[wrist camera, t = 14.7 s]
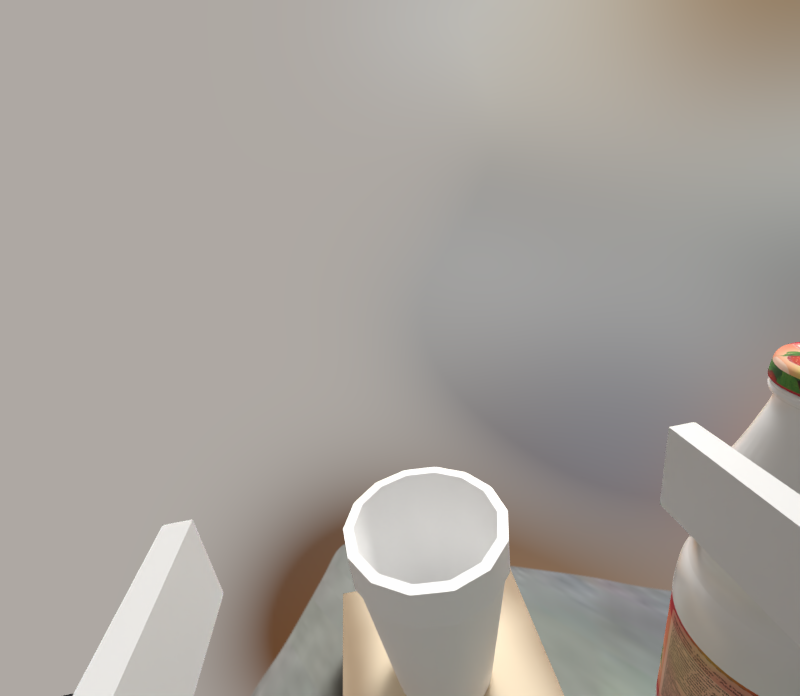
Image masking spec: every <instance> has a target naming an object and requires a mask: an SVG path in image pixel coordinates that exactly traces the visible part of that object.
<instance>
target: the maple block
mask: <svg viewBox="0 0 800 696" xmlns="http://www.w3.org/2000/svg"><path fill="white" fill-rule="evenodd" d="M343 696H406V694H405V693H404V692H403V689H402V687H401V685H400V683H399V681H398V678H397V676H396V674H395V671H394V669H393V667H392V664H391V662H390V660H389V658H388V655H387V653H386V651H385V648H384V646H383V644H382V641H381V639H380V637H379V634H378V632H377V630H376V627H375V625H374V623H373V620H372V618H371V616H370V613H369V611H368V609H367V606H366V604H365V602H364V599H363V598H362V597H361V595H360V594H359V593H358V592H357V591H355V592H350V593H345V594H343ZM484 696H564V694H563V692H562V690H561V687H560V685H559V682H558V680H557V678H556V675H555V673H554V671H553V668H552V666H551V664H550V661H549V659H548V657H547V654H546V652H545V650H544V647H543V645H542V643H541V640H540V638H539V635H538V633H537V631H536V628H535V626H534V624H533V621H532V619H531V617H530V614H529V612H528V610H527V607H526V605H525V603H524V600H523V598H522V596H521V593H520V591H519V589H518V586H517V584H516V581H515V579H514V577H513V574H512V572H511V570H510V573H509V575H508V577H507V579H506V580H505V585H504V592H503V599H502V606H501V613H500V620H499V627H498V634H497V641H496V648H495V655H494V662H493V669H492V676H491V679H490V685H489V687H488V689H487V691H486V693H485V695H484Z"/></svg>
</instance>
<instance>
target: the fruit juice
mask: <svg viewBox="0 0 800 696" xmlns="http://www.w3.org/2000/svg"><path fill="white" fill-rule="evenodd" d="M768 376H769V378H768V386H769V389H770V390H771V392H772V396H771V398H770V400H769V401H768V403H767V404H766V405H765V407H764V408H763V409H762V410H761V412H760V413H759V415H758V416H757V417H756V418H755V420H754V421H753V422H752V424H751V425H750V426H749V427H748V429H747V430H746V431H745V432H744V434H743V435H742V436H741V437H740V438H739V440H738V441H737V442H736V443H735V444H734V445H733V446H732V448H733V449H735V450H736V451H737V452H739V453H740V454H742V455H743V456H745V457H746V458H748V459H749V460H751V461H752V462H753V463H755V464H756V465H758V466H759V467H761V468H762V469H764V470H765V471H766V472H768V473H769V474H771V475H772V476H774V477H775V478H777V479H778V480H779V481H781V482H782V483H784V484H785V485H787V486H788V487H790V488H791V489H792V490H794V491H795V492H797V493H798V494H800V342H796V343H791V344H787V345H785V346H782V347H781V348H779V349H778V350H777V351H776V352H775V354H774V356H773V358H772V361H771V363H770V366H769V369H768ZM655 696H800V647H799V646H798V645H797V644H796V643H795V642H794V641H793V640H792V639H791V638H790V637H789V636H788V635H787V634H786V633H785V632H784V631H783V630H782V629H781V628H780V627H779V626H778V625H777V624H776V623H775V622H774V621H773V620H772V619H771V618H770V617H769V616H768V615H767V614H766V613H765V611H764V610H763V609H762V608H761V607H760V606H759V605H758V604H757V603H756V602H755V601H754V600H753V599H752V598H751V597H750V596H749V595H748V594H747V593H746V592H745V591H744V590H743V589H742V588H741V587H740V586H739V585H738V584H737V583H736V582H735V581H734V580H733V579H732V578H731V577H730V576H729V575H728V573H727V572H726V571H725V570H724V569H723V568H722V567H721V566H720V565H719V564H718V563H717V562H716V561H715V560H714V559H713V558H712V557H711V556H710V555H709V554H708V553H707V552H706V551H705V550H704V549H703V548H702V547H701V546H700V545H699V544H698V543H697V542H696V541H695V540H694V539H693V538H692V536H691V535H690V536H689V538H688V539H687V540H686V542H685V543H684V546H683V548H682V550H681V553H680V555H679V558H678V562H677V565H676V569H675V573H674V578H673V586H672V593H671V600H670V606H669V612H668V618H667V624H666V630H665V636H664V642H663V648H662V654H661V661H660V667H659V673H658V679H657V685H656V691H655Z"/></svg>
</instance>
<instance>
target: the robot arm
mask: <svg viewBox="0 0 800 696" xmlns="http://www.w3.org/2000/svg"><path fill="white" fill-rule="evenodd" d="M660 505H661V506H662V507H663V508H664V509H665V510H666V511H667V512H668V513H669V514H670V515H671V516H672V517H673V518H674V519H675V520H676V521H677V522H678V523H679V524H680V525H681V526H682V527H683V528H684V529H685V530H686V531H687V532H688V533H689V534H690V535H691V536H692V538H693V539H694V540H695V541H696V542H697V543H698V544H699V545H700V546H701V547H702V548H703V549H704V550H705V551H706V552H707V553H708V554H709V555H710V556H711V557H712V558H713V559H714V560H715V561H716V562H717V563H718V564H719V565H720V566H721V567H722V568H723V569H724V570H725V571H726V572H727V573H728V575H729V576H730V577H731V578H732V579H733V580H734V581H735V582H736V583H737V584H738V585H739V586H740V587H741V588H742V589H743V590H744V591H745V592H746V593H747V594H748V595H749V596H750V597H751V598H752V599H753V600H754V601H755V602H756V603H757V604H758V605H759V606H760V607H761V608H762V609H763V610H764V611H765V613H766V614H767V615H768V616H769V617H770V618H771V619H772V620H773V621H774V622H775V623H776V624H777V625H778V626H779V627H780V628H781V629H782V630H783V631H784V632H785V633H786V634H787V635H788V636H789V637H790V638H791V639H792V640H793V641H794V642H795V643H796V644H797V645H798V646H799V647H800V494H798V493H797V492H795V491H794V490H792V489H791V488H790V487H788V486H787V485H785V484H784V483H782V482H781V481H779V480H778V479H777V478H775V477H774V476H772V475H771V474H769V473H768V472H766V471H765V470H764V469H762V468H761V467H759V466H758V465H756V464H755V463H753V462H752V461H751V460H749V459H748V458H746V457H745V456H743V455H742V454H740V453H739V452H737V451H736V450H735V449H733V448H732V447H730V446H729V445H727V444H726V443H724V442H723V441H722V440H720V439H718V438H717V437H716V436H714V435H713V434H711V433H710V432H708V431H707V430H706V429H704V428H703V427H701V426H700V425H698V424H697V423H695V422H692V423H687V424H682V425H677V426H672V427H669V430H668V439H667V447H666V456H665V465H664V473H663V482H662V490H661V499H660ZM222 597H223V591H222V588H221V586H220V584H219V581H218V579H217V576H216V574H215V572H214V569H213V567H212V564H211V562H210V560H209V557H208V555H207V553H206V550H205V548H204V545H203V543H202V541H201V538H200V536H199V534H198V531H197V529H196V526H195V524H194V522H193V520H187V521H182V522H177V523H172V524H166V525H163V526H162V528H161V529H160V531H159V533H158V535H157V537H156V539H155V541H154V543H153V545H152V546H151V548H150V550H149V552H148V554H147V556H146V558H145V560H144V562H143V564H142V565H141V567H140V569H139V571H138V573H137V575H136V577H135V579H134V581H133V582H132V584H131V586H130V588H129V590H128V592H127V594H126V596H125V598H124V599H123V601H122V603H121V605H120V607H119V609H118V611H117V613H116V615H115V616H114V618H113V620H112V622H111V624H110V626H109V628H108V630H107V632H106V633H105V635H104V638H103V639H102V641H101V643H100V645H99V647H98V649H97V651H96V652H95V654H94V656H93V658H92V660H91V662H90V664H89V666H88V668H87V669H86V671H85V673H84V675H83V677H82V679H81V681H80V683H79V685H78V687H77V688H76V690H75V692H74V694H69V695H64V696H194V693H195V689H196V686H197V682H198V679H199V675H200V672H201V669H202V665H203V662H204V659H205V655H206V651H207V648H208V645H209V641H210V638H211V634H212V631H213V628H214V624H215V621H216V617H217V614H218V611H219V607H220V604H221V601H222Z"/></svg>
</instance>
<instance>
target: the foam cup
mask: <svg viewBox="0 0 800 696" xmlns="http://www.w3.org/2000/svg"><path fill="white" fill-rule="evenodd" d="M343 532H344V538H345V544H346V550H347V556H348V561H349V565H350V570H351V574H352V578H353V583H354V587H355V590H356V591H357V592H358V593H359V594H360V595H361V597H362V598H363V599H364V602H365V604H366V606H367V609H368V611H369V613H370V616H371V618H372V620H373V623H374V625H375V627H376V630H377V632H378V634H379V637H380V639H381V641H382V644H383V646H384V648H385V651H386V653H387V655H388V658H389V660H390V662H391V664H392V667H393V669H394V671H395V674H396V676H397V678H398V681H399V683H400V685H401V687H402V689H403V692H404V693H405V694H406V696H484V695H485V693H486V691H487V689H488V687H489V685H490V679H491V676H492V669H493V662H494V655H495V648H496V641H497V634H498V627H499V620H500V613H501V606H502V599H503V592H504V585H505V580H506V579H507V577H508V575H509V573H510V557H509V529H508V510H507V509H506V507H505V506H504V504H503V503H502V501H501V500H500V499H499V497H498V496H497V494H496V493H495V492H494V490H493V488H492V487H491V486H489V485H487V484H485V483H484V482H482V481H480V480H478V479H477V478H475V477H473V476H472V475H470V474H468V473H466V472H462V471H456V470H451V469H445V468H440V467H428V468H420V469H411V470H404V471H401V472H399V473H397V474H395V475H392V476H390V477H388V478H385V479H383V480H381V481H378V482H376V483H375V484H374V485H373V486H372V487H371V488H370V489H368V490H367V491H366V492H365V493H364V494H363V495H362V496H361V497H360V498H359V499H358V500H356V501H355V502H354V504H353V506H352V509H351V511H350V514H349V516H348V518H347V521H346V523H345V526H344V528H343Z"/></svg>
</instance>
